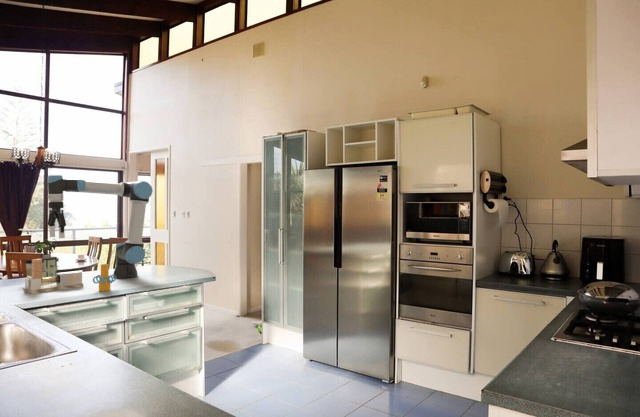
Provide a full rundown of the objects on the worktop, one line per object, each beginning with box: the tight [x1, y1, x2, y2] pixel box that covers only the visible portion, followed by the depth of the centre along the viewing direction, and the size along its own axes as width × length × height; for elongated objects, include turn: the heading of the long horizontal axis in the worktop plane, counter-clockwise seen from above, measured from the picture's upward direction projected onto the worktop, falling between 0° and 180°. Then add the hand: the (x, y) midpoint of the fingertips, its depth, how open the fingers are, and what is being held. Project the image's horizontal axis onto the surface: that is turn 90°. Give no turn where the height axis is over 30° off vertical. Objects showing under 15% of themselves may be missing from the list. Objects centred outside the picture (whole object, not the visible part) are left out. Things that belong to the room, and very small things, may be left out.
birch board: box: [23, 283, 84, 295], centre depth 254 cm, size 28×9×2 cm, turn 140°
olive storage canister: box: [24, 258, 44, 277], centre depth 269 cm, size 10×10×15 cm
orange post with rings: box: [92, 263, 117, 292], centre depth 252 cm, size 12×10×15 cm
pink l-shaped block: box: [31, 258, 60, 285], centre depth 251 cm, size 16×3×14 cm, turn 140°
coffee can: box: [37, 256, 58, 278], centre depth 286 cm, size 10×10×14 cm
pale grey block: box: [55, 270, 83, 287], centre depth 260 cm, size 12×6×7 cm, turn 140°
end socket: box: [24, 275, 42, 291], centre depth 246 cm, size 6×6×7 cm
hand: (57, 237), depth 258 cm, fingers open, 13 cm apart
